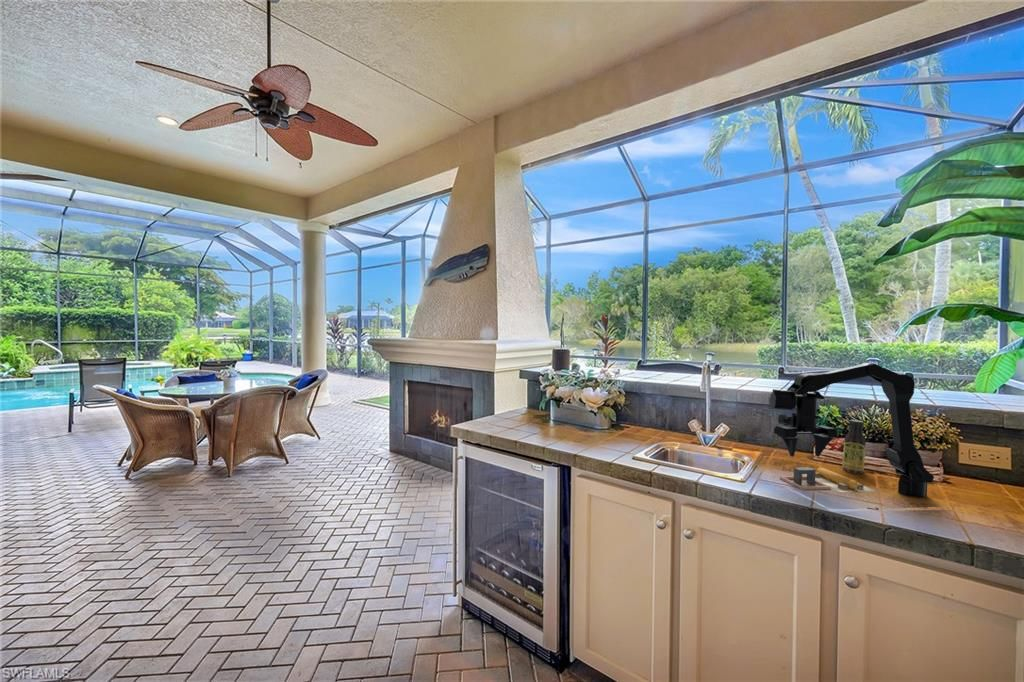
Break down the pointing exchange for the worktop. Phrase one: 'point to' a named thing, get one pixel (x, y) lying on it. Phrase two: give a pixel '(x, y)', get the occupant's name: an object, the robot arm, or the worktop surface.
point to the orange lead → (837, 478)
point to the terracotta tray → (822, 486)
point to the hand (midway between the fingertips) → (804, 456)
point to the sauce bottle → (854, 448)
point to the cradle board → (841, 485)
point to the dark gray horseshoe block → (800, 471)
